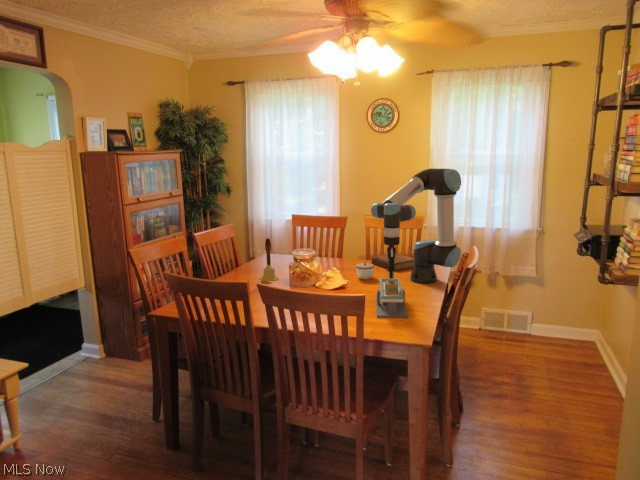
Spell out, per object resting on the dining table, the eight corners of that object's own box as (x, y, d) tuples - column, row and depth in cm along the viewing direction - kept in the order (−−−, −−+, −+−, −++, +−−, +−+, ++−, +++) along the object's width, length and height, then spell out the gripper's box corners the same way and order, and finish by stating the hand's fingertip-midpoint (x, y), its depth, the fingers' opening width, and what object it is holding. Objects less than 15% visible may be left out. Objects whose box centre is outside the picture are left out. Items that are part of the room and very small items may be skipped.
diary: (371, 264, 306) (371, 256, 305) (393, 260, 315) (393, 252, 314) (394, 272, 287) (394, 263, 286) (416, 267, 296) (416, 258, 295)
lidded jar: (373, 280, 268) (373, 265, 266) (355, 279, 270) (355, 264, 268) (374, 275, 278) (374, 260, 276) (357, 275, 280) (357, 260, 278)
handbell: (255, 281, 271) (253, 239, 266) (266, 275, 282) (264, 235, 277) (272, 283, 266) (271, 241, 261) (283, 277, 277) (282, 237, 272)
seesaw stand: (402, 295, 239) (403, 281, 238) (407, 318, 208) (408, 301, 207) (375, 295, 241) (376, 280, 239) (376, 317, 210) (377, 300, 208)
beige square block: (397, 290, 221) (397, 280, 220) (398, 294, 215) (398, 284, 214) (384, 290, 221) (385, 280, 220) (385, 294, 216) (385, 284, 215)
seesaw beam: (399, 284, 236) (399, 278, 236) (403, 303, 209) (403, 296, 209) (379, 284, 237) (380, 278, 237) (381, 303, 210) (381, 296, 210)
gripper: (383, 233, 223) (382, 279, 228) (384, 238, 210) (383, 287, 215) (398, 233, 222) (398, 280, 227) (400, 238, 210) (399, 288, 214)
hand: (390, 283), depth 221 cm, fingers closed
